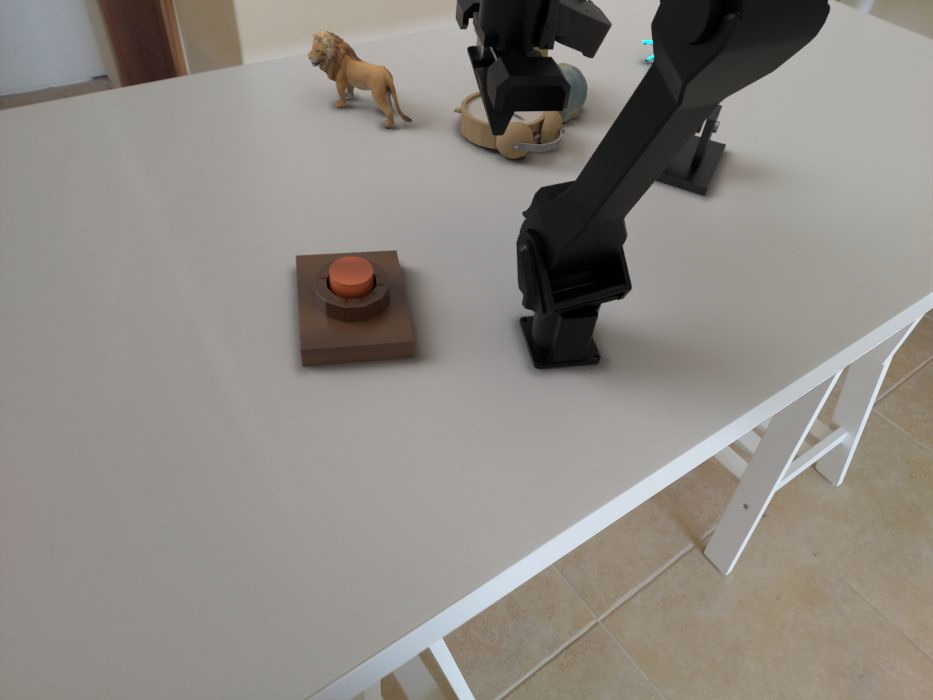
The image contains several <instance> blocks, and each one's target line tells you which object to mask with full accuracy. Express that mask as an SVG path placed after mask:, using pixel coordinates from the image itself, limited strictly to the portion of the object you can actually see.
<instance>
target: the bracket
mask: <svg viewBox="0 0 933 700" xmlns="http://www.w3.org/2000/svg"><path fill="white" fill-rule="evenodd" d="M722 108H723V105H722V104H719V105H718V106H717V107H716V108H715V110H714V111H713V112H712V113H711V114H710V116H709V117H708V118H707V119H706V120H705V122H704V125H703V129H702V130H701V131H702V132H701V135H700V136H699V135H696V134H695V135H694V136H693V137H692V138H691V139H690V140H689V141H688V142H687V143H686V144H685V146H684V147H683V148H682V149H681V150H680V152H679V153H678V154H677V155H676V156H675V158H674V159H673V160H672V161H671V162H670V164H669V165H668V166H667V167H666V168H665V170H664V171H663V172H662V173H661V174H660V176H659V177H658V178H657V179H656V180H655V182H658V183H661V184H663V185H664V184H665V185H667V186H671V187H674V188H677V189H680V190H683V191H686V192H689V193H693V194H696V195H699V196H702V197H705V196H706V193H707V192H708V189H709V186H710V184H711V183H712V180H713V178H714V174H715V172H716V170H717V168H718V166H719V164H720V162H721V159H722V157H723V154H724V152H725V149H726V146H727V143H722V142H719V141H717V140H712V136H713V134H717V132H718V129H719V128H720V124H721V121H718V119H719V117H720V114H721V111H722Z"/></svg>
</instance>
